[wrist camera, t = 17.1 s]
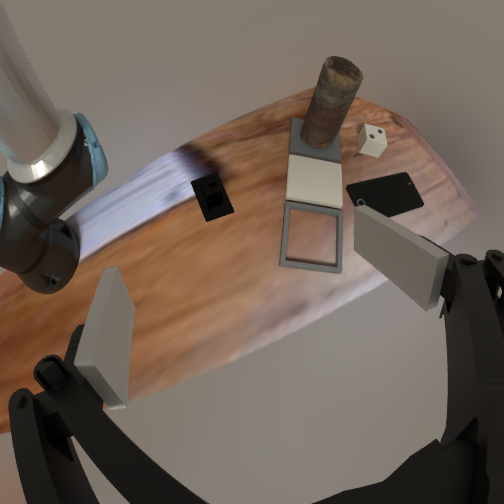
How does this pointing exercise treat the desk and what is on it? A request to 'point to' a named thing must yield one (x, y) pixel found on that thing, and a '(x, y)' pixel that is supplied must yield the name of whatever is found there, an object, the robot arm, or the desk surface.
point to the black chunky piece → (212, 197)
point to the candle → (330, 101)
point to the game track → (313, 190)
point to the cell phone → (386, 194)
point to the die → (372, 140)
